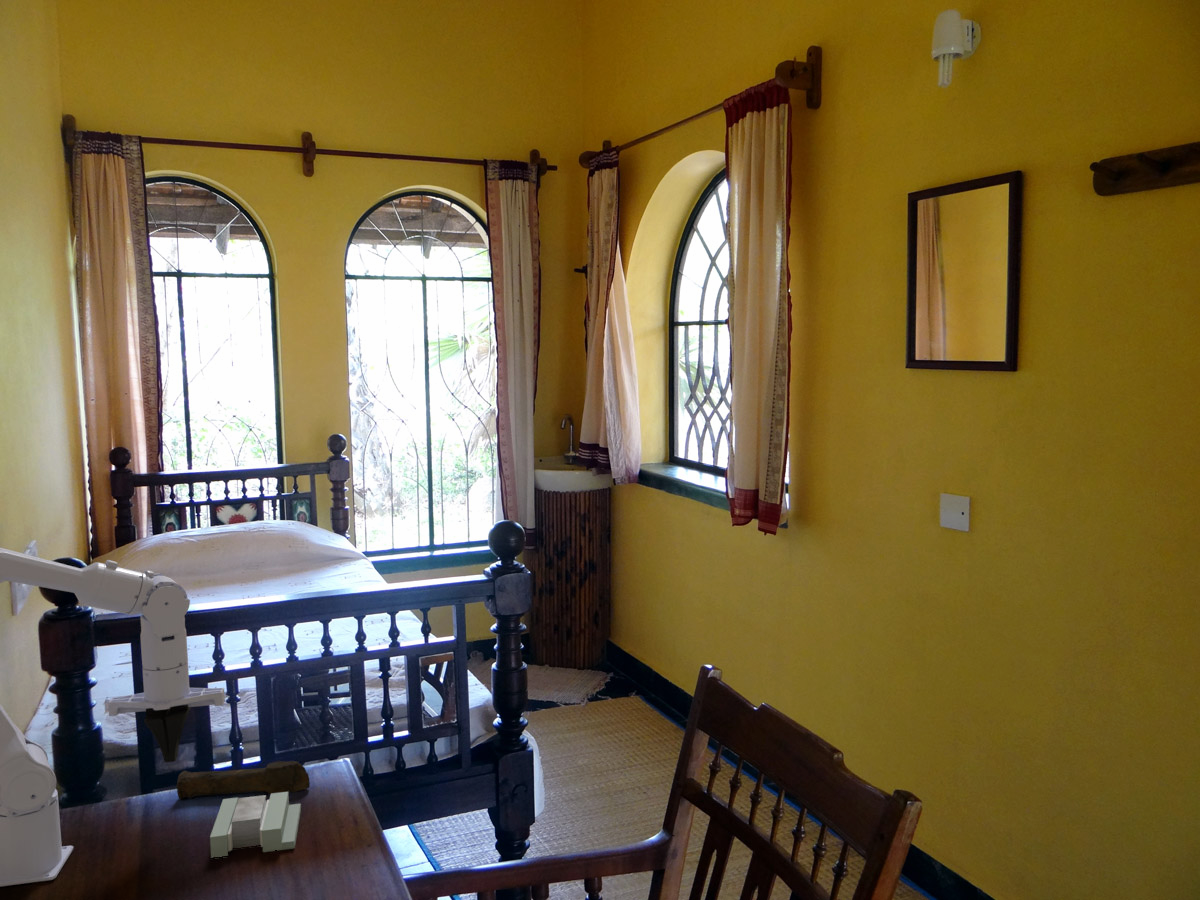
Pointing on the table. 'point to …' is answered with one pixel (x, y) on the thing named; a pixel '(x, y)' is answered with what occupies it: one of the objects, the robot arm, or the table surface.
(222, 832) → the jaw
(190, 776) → the brown wooden log
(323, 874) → the table surface
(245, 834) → the block
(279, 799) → the pale green bar
